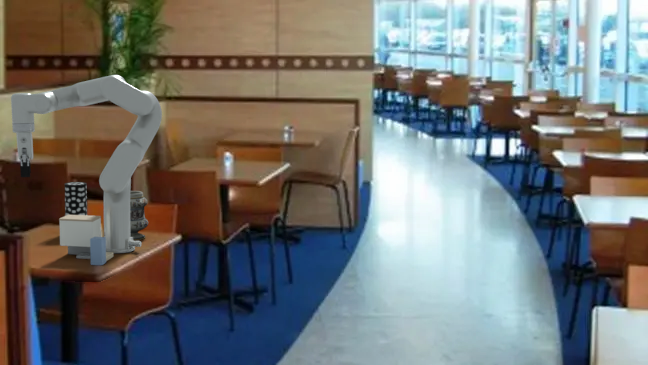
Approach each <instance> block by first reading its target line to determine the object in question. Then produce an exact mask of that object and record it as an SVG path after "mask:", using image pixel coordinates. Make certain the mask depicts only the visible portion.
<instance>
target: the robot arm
mask: <svg viewBox="0 0 648 365" xmlns="http://www.w3.org/2000/svg"><path fill="white" fill-rule="evenodd" d="M10 101H11V102H10V104H11V106H10V107H11V120H12V122H11V123H12V133H14V134H16V148H17V155H18V160H19V161H20V170H19V171H20V177H21V178H30V177H31V173H32V172H31V170H32V167H31V161H32V160H33V159H34V147H33V146H34V145H33V144H34V142H33V141H34V140H33V133H34V132H35V131H36V129H35V114H38V115H46V114H49V113H52V112H55V111H56V112H57V111H60V110H61V111H62V110H65V109H68V108H73V107H86V106H90V105H95V104H98V103H99V104H100V103H104V102H109V101H110V102H111V103H113V104H115V105H117V106H118V107H120V108H122V109H123V110H125V111H126V112H129V113H130V114H133V115H135V116H137V118H136V120H135V122H134V124H133V126H131V129H130V131H129V132H128V134H127V135H126V136H125V137H126V138H124V140H123V141H122V142H121V143H119V145H117V147H116V148H115V150H114V151H113V153H112V154H111V157H110V158H109V159H108V161H107V163H106V165H105V167H104V168H103V170H102V172H101V173H100V175H99V179H98V182H99V186H100V188H101V189H102V191H103V237H106V252H113V254H125V253H131V252H134V251H136V250H135V249H136V248H139V247H140V248H141V247H142V241H140V240H133V237H130V191H131V188H132V186H131V184H132V179H131V178H132V176H133V174H134V172H135V171H136V169H137V167H138V166H139V164H140V163H141V162H142V161H143V159H144V157H145V154H146V152H147V151H148V149H149V147H150V146H151V144H152V142H153V140H154V138H155V136H156V135H157V133H158V131H159V129H160V126H161V123H162V116H163V114H162V113H163V112H162V108H161V104H160V101H159V100H158V98H157V97H156V96H155V94H153V92H151V91H148V90H140V89H138V88H137V87H134V86H133V85H132V84H129V83H127V81H126V80H125V78H124V77H123V76H121V75H119V74H112V75H111V74H110V75H108V76H107V75H106V76H102V77H99V78H94V79H89V80H86V81H84V80H83V81H81V82H80V81H79V82H77V83H74V84H73V85H69V86H64V87H61V88H56V89H53V90H48V91H42V92H38V93H29V92H28V93H27V92H21V93H20V92H18V93H17V92H16V93H13V94H12V95H11V96H10Z"/></svg>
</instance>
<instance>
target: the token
mask: <svg viewBox="0 0 648 365" xmlns="http://www.w3.org/2000/svg"><path fill="white" fill-rule="evenodd" d="M75 255H76V257H75V258H76V259H80V260H81V259H82V260H86V259H87V260H91V253H80V254H75Z"/></svg>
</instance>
